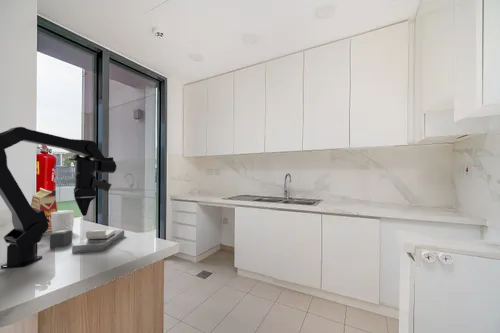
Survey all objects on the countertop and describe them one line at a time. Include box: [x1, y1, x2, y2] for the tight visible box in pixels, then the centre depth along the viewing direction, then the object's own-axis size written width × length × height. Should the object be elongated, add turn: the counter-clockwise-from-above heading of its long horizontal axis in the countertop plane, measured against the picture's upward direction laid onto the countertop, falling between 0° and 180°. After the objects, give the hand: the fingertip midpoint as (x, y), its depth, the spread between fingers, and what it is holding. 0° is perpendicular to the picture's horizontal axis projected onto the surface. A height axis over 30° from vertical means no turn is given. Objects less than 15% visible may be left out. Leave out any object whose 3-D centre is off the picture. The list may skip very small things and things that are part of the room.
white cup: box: [51, 209, 75, 234], centre depth 92 cm, size 8×8×10 cm
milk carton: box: [30, 187, 59, 233], centre depth 98 cm, size 9×9×20 cm
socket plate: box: [71, 229, 125, 254], centre depth 81 cm, size 17×10×2 cm, turn 10°
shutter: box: [85, 229, 116, 239], centre depth 81 cm, size 8×7×3 cm
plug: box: [49, 230, 73, 249], centre depth 79 cm, size 4×4×5 cm
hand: (83, 213), depth 79 cm, fingers open, 9 cm apart
